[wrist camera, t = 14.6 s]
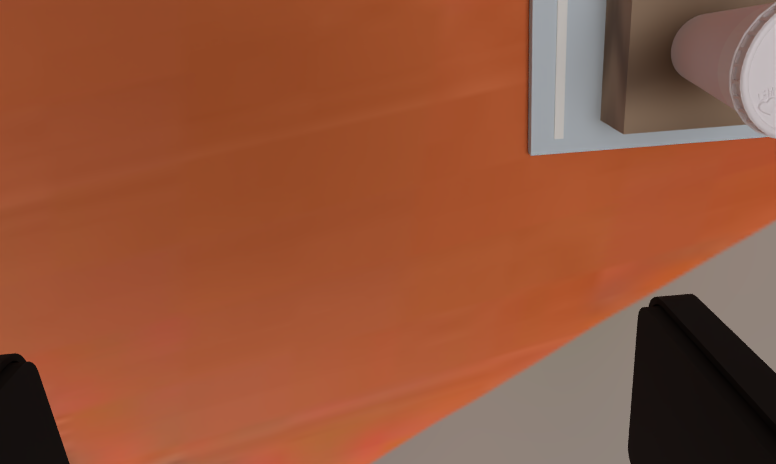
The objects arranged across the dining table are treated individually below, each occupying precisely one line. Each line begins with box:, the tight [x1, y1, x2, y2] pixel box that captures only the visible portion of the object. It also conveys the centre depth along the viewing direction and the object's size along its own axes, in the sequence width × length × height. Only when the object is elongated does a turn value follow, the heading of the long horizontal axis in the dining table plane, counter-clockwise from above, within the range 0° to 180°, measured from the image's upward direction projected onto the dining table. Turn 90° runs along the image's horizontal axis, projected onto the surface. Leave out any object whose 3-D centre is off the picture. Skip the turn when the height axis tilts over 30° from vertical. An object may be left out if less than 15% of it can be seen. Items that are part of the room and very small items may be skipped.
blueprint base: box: [528, 0, 776, 156], centre depth 38 cm, size 13×18×5 cm
